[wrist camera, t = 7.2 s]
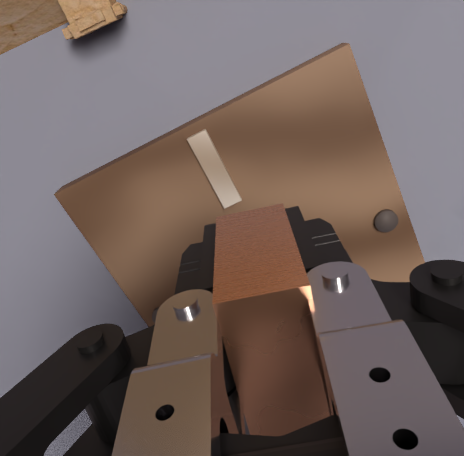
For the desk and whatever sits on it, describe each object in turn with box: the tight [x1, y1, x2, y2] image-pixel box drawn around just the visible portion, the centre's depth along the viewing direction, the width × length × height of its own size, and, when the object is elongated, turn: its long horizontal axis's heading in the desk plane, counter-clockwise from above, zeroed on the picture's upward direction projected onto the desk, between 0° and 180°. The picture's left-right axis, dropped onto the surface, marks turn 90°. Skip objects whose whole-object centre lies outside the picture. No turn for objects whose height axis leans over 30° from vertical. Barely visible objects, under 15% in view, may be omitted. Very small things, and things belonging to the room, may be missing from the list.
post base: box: [54, 43, 425, 327], centre depth 21 cm, size 18×16×9 cm
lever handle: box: [212, 203, 353, 436], centre depth 15 cm, size 10×16×9 cm, turn 12°
